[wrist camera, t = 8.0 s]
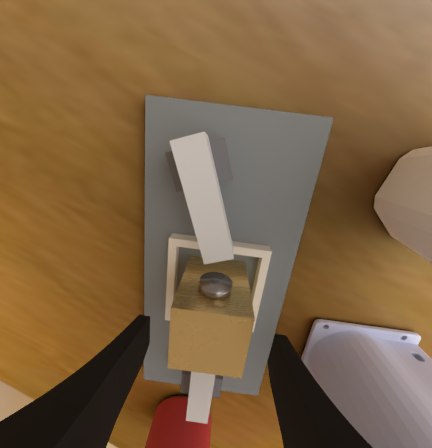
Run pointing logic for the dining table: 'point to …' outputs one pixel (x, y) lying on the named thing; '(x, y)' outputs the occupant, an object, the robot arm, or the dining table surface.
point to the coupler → (211, 319)
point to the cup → (409, 202)
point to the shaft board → (247, 209)
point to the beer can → (177, 427)
